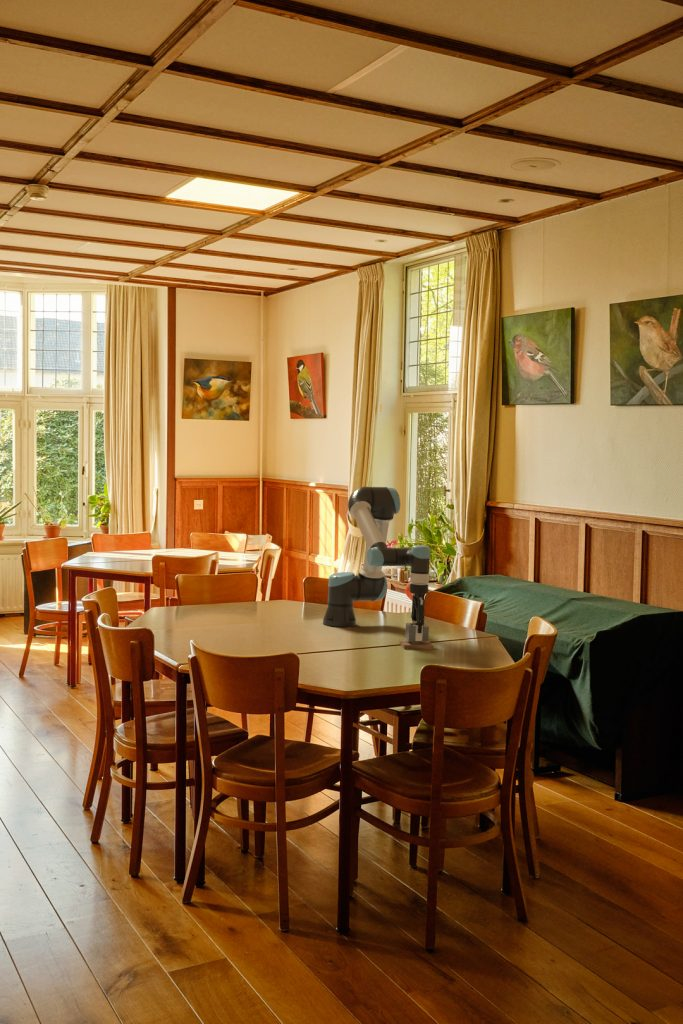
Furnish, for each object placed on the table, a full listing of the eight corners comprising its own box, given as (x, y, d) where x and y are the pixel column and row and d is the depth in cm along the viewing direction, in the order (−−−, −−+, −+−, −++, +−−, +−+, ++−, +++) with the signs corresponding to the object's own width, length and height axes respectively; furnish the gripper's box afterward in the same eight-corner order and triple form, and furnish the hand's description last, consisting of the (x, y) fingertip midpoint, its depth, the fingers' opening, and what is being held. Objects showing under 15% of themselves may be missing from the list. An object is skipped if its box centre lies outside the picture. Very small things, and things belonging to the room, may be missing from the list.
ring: (405, 637, 412) (405, 622, 412) (424, 637, 413) (425, 623, 413) (408, 641, 404) (409, 626, 404) (428, 641, 405) (428, 626, 405)
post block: (399, 643, 414) (400, 622, 413) (427, 643, 415) (428, 623, 415) (404, 649, 402) (405, 628, 402) (433, 649, 404) (434, 628, 403)
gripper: (405, 579, 417) (403, 633, 418) (415, 586, 396) (412, 643, 398) (423, 580, 418) (420, 634, 419) (433, 587, 397) (430, 644, 399)
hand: (416, 638), depth 408 cm, fingers closed on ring, 8 cm apart
